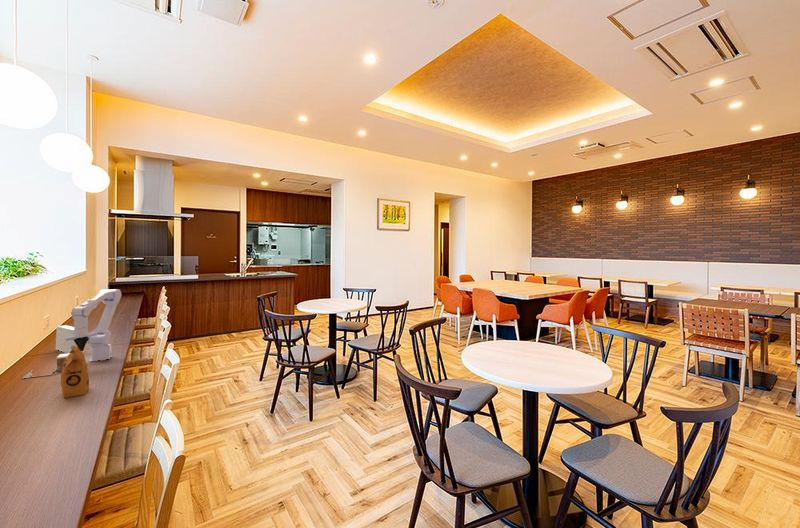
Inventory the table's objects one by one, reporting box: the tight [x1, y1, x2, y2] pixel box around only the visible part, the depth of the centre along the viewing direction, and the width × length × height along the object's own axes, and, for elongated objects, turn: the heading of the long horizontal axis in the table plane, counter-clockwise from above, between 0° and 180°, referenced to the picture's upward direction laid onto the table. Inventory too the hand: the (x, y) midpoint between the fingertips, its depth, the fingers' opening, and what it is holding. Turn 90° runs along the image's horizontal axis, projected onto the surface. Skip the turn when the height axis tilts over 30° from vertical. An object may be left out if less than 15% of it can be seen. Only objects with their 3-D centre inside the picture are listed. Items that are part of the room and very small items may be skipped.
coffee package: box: [60, 345, 90, 399], centre depth 162 cm, size 10×12×22 cm
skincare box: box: [55, 324, 77, 354], centre depth 223 cm, size 21×6×16 cm, turn 65°
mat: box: [21, 367, 57, 380], centre depth 188 cm, size 11×20×1 cm, turn 32°
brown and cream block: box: [56, 353, 70, 372], centre depth 192 cm, size 4×6×8 cm, turn 32°
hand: (81, 350), depth 195 cm, fingers closed
